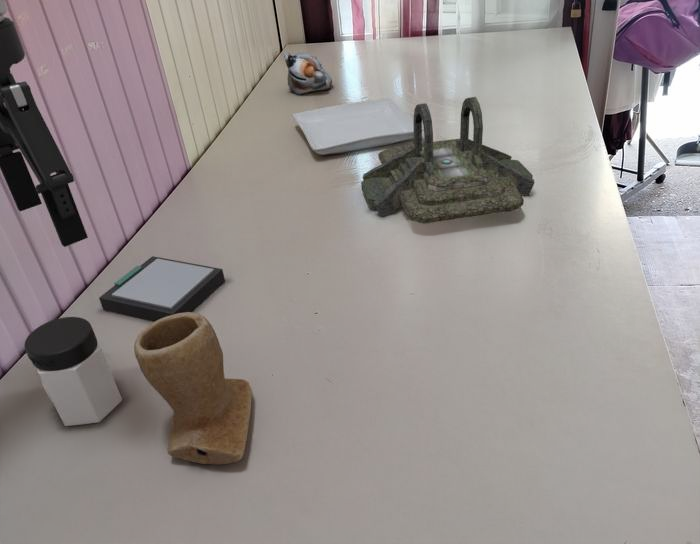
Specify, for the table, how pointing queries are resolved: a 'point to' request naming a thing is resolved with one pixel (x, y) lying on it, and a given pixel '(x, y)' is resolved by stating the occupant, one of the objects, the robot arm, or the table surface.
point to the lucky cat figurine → (306, 73)
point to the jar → (73, 370)
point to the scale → (162, 289)
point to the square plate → (355, 126)
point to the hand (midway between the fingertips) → (51, 223)
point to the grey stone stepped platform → (446, 174)
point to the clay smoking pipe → (195, 389)
